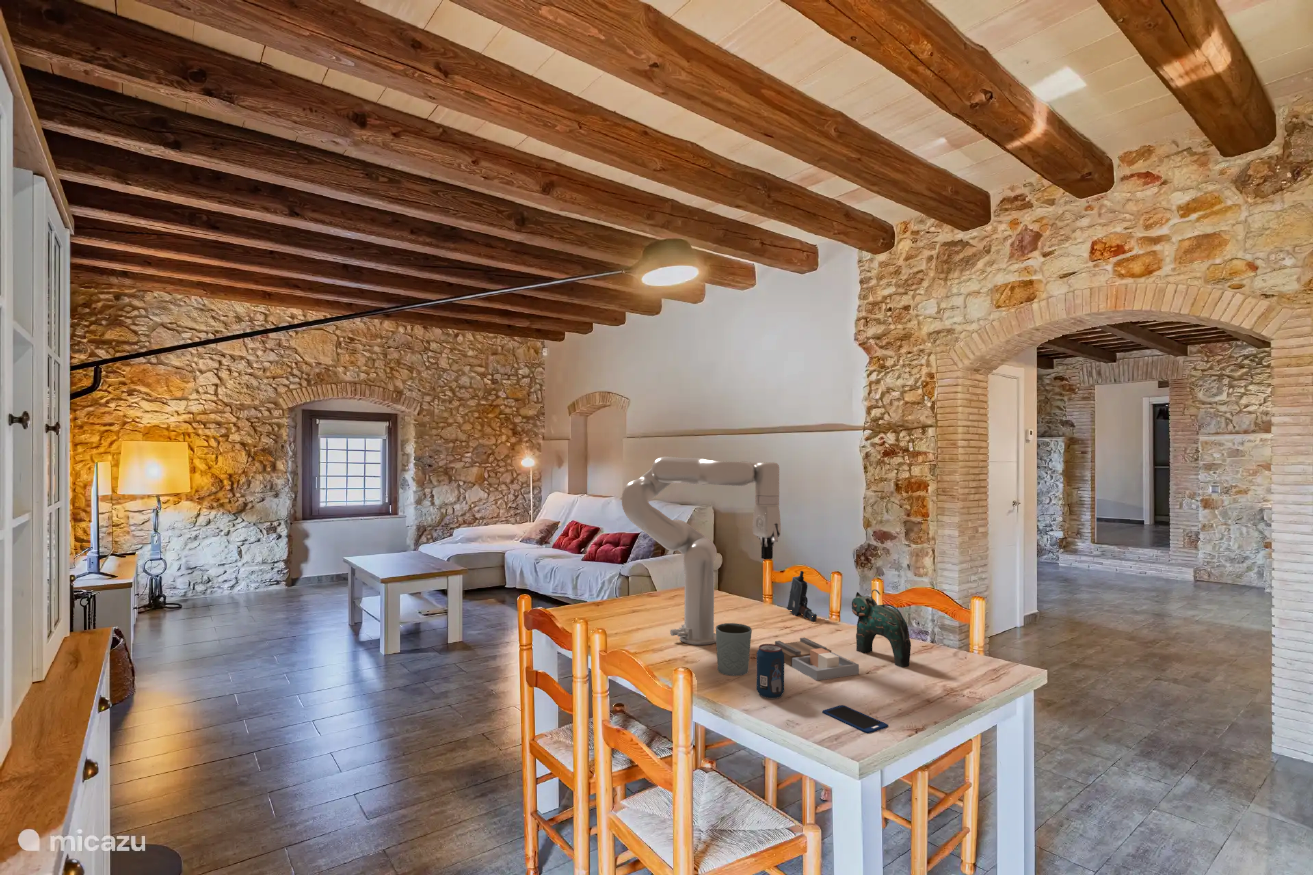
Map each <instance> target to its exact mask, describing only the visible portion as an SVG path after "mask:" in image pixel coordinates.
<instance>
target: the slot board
mask: <svg viewBox="0 0 1313 875" xmlns="http://www.w3.org/2000/svg"><path fill="white" fill-rule="evenodd" d="M774 644H775V645H779V646H781V647H782V651H783V653H784V665H785V664H786V665H787V666H789V667H791V668H793V667H792V658H796V657H803V656H810V650H811V649H818V648H823V649H825V650H827V651H829V652H830V653H832V650H831V649H830V648H829V649H828V647H826V646H823V645H822V644H820V643H817V642H816V641H814V640H811V639H808V638H806V637H800V638H799V641H793V642H785V643H784V642H783V641H782V640H776V641H774Z"/></svg>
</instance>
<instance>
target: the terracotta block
mask: <svg viewBox="0 0 1313 875" xmlns="http://www.w3.org/2000/svg"><path fill="white" fill-rule="evenodd" d="M822 653H829V651H827V650H825V649H823V648H818V649H811V650H810V664H812V665H814V666H816V667H818V654H822Z"/></svg>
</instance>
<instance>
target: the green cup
mask: <svg viewBox="0 0 1313 875" xmlns="http://www.w3.org/2000/svg"><path fill="white" fill-rule="evenodd" d="M752 631H753V630H752V628H751V627H750V626H749V625H746V624H744V623H743V624H742V623H738V622H737V623H735V622H728V623H720V624H718V625H716V626H715V634H716V652H717V653H716V660H717V661H716V662H717V663H716V664H717V671H718V673H720V674H722V675H725V676H730V677H731V676H732V677H738V676H744V675H746V674H748V673H749V666H750V665H749V662H750V652H751V639H752Z"/></svg>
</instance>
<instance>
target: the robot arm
mask: <svg viewBox="0 0 1313 875" xmlns="http://www.w3.org/2000/svg"><path fill="white" fill-rule="evenodd" d="M671 484H686V485H688V484H689V485H714V486H715V485H716V486H734V487H742V486H743V487H745V486H747V485H749V484H750V485H751V484H754V486H755V490H754V492H755V493H754V494H755V496H754V498H755V502H754V503H755V505H754V507H753V515H752V516H753V517H752V529H751V530H752V534H753V535H754V536H756V538H757V539H758V540H759V542H760V546H761V549H760V550H761V555H760V556H761V557H760V558H761V559H762V560H772V559H773V558H774V557H773V554H774V553H773V551H774V550H773V549H774V548H773V547H775V543H778V541H779V537H780V536H781V529H782V526H781V512H780V466H779V464H778V463H777V462H775V461H773V462H771V461H770V462H768V461H764V462H763V461H762V462H752V461H745V460H744V461H743V460H741V461H724V460H723V461H722V460H721V461H720V460H710V459H706V458H702V457H677V456H676V457H675V456H661V457H658V458H656V459H655V460H654V461H653V462H652V465H651V468H650V469H648V471H646V472H645V473H644V474H643V475H642V476H640V477H639V478H637V479H634V480H631V481H629V482H627V483H626V485H625V486H624V488H623V491H622V493H621V506H622V510H623V512H624V514H625V516H626V518H628V520H629V521H630V522H632V524H633V525H635V526H636V527H637V528H639V529H640V530H641V531H642V532H644V533H645V534H646V535H648V536H649V537H650V538H652V539H653V540H654V541H656V542H657V543H658V544H659V545H661V546H662V547H663V548H664V549H666V550H667V551H670V552H676V551H678V552H680V553H681V554H682V555H683V572H684V574H683V576H684V622H683V623H684V624H681V627H679V628H677V629H676V628H674V629H673V628H672V629H670V630H669V632H670V636H677V637H678V638H679V640H680V641H681V642H682V643H685V644H688V645H695V646H707V645H713V644H715V643H716V632H715V573H714V572H715V571H714V570H715V569H714V568H715V567H714V564H715V560H716V558H717V555H718V551H717V547H716V545H715V544H714V542H713V541H711V539H709V537H707V536H705V535H704V534H702V533H701V532H700V531H698V530H697V529H696V528H694V527H693V526H692V525H690V524H689V523H687V522H685V521H684V520H682V519H671V518H670V517H668V516H667V515H665V514H664V513H662V511H660V510H658V509H657V508H656V507H654V506H653V505H651V504H650V502H651V501H652V500H653V499H655V498H656V497H657V496H658V495H659V494H661V492H662V491H664V490H665V489H666V488H667V487H669V486H670V485H671Z"/></svg>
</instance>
